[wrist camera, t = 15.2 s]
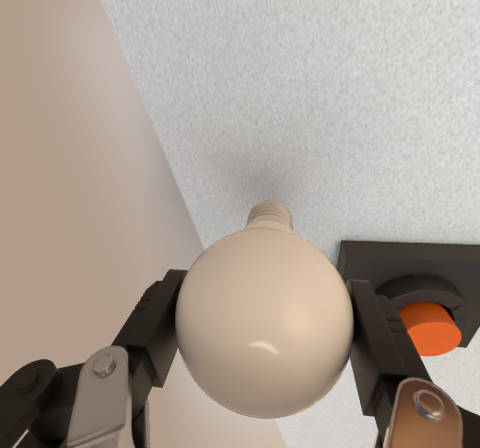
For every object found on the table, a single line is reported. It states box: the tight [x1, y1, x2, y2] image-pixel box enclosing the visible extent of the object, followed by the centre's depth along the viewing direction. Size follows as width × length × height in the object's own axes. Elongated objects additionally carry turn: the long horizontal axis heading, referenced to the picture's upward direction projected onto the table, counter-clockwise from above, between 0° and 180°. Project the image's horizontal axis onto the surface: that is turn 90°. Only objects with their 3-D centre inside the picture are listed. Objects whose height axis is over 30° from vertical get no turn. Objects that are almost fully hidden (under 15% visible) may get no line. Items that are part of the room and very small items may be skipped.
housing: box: [337, 241, 480, 348], centre depth 22 cm, size 12×10×4 cm
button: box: [398, 302, 461, 356], centre depth 20 cm, size 4×4×2 cm
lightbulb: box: [175, 200, 354, 419], centre depth 12 cm, size 6×6×11 cm
